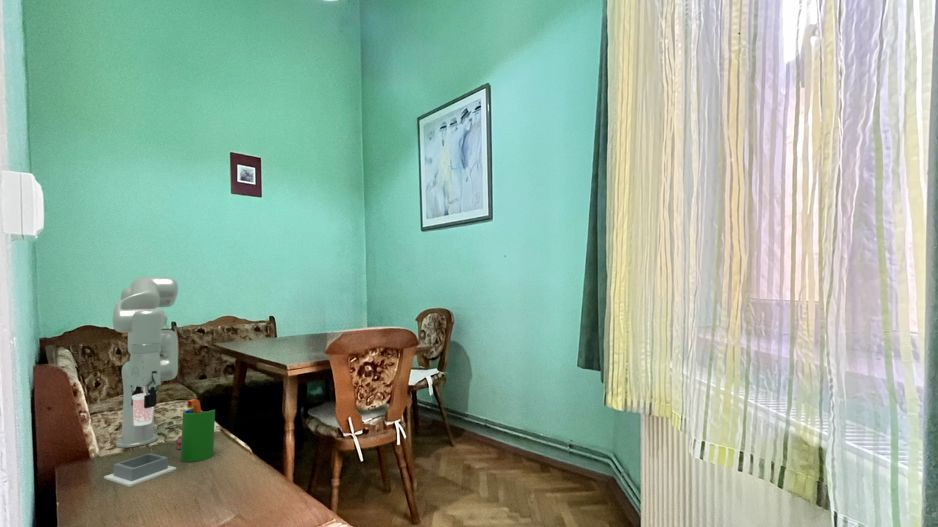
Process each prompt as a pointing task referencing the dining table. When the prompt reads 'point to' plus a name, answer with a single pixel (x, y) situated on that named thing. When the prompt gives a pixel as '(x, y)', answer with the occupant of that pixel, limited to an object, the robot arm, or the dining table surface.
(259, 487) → the dining table surface
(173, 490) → the dining table surface
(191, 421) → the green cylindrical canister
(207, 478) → the dining table surface
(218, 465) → the dining table surface
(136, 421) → the beverage cup
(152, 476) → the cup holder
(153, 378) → the robot arm
